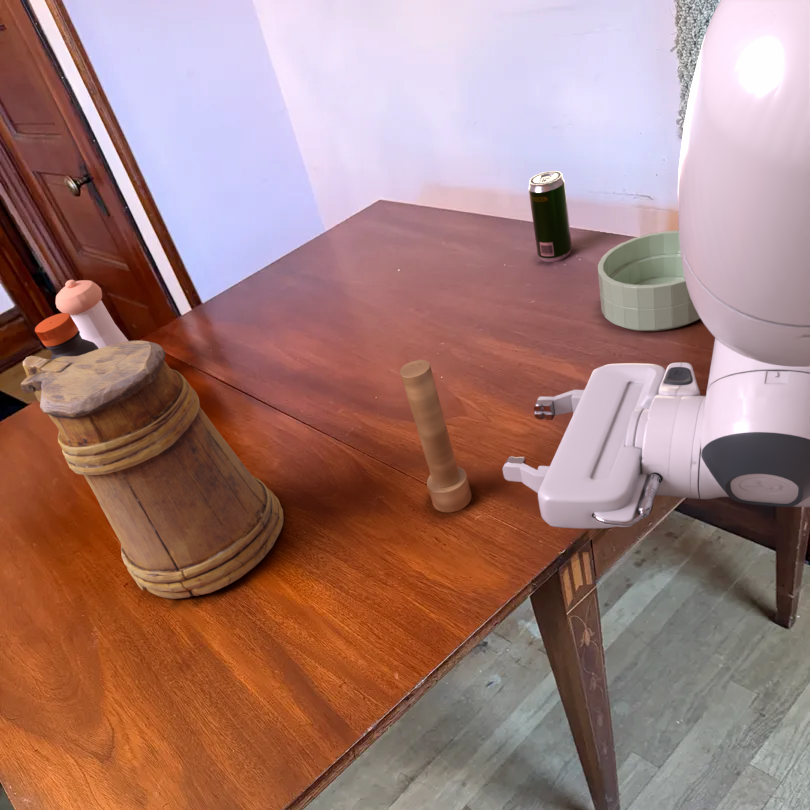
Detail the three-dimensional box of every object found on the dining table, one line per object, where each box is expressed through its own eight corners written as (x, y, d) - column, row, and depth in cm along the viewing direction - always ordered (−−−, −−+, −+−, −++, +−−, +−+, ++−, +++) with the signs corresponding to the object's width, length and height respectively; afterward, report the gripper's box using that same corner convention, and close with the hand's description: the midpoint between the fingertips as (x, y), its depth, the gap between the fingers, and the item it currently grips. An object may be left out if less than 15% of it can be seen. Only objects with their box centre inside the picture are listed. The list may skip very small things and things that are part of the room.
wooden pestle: (479, 497, 82) (446, 364, 71) (448, 518, 81) (409, 386, 70) (455, 480, 85) (420, 350, 74) (425, 501, 84) (384, 372, 73)
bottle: (136, 423, 115) (64, 305, 102) (157, 435, 111) (84, 313, 97) (99, 448, 112) (19, 330, 99) (119, 462, 108) (38, 340, 95)
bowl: (748, 290, 98) (751, 242, 93) (665, 346, 93) (664, 298, 89) (656, 266, 108) (654, 222, 104) (578, 315, 104) (573, 271, 100)
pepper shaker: (103, 400, 124) (36, 293, 111) (131, 375, 128) (70, 269, 115) (133, 402, 120) (67, 293, 108) (161, 377, 124) (101, 268, 112)
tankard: (230, 615, 79) (108, 424, 62) (79, 583, 90) (-60, 413, 73) (312, 500, 89) (225, 311, 73) (168, 484, 100) (64, 316, 84)
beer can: (567, 261, 117) (558, 183, 109) (534, 264, 119) (523, 187, 111) (575, 245, 120) (567, 168, 112) (543, 248, 122) (532, 172, 114)
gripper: (647, 554, 61) (490, 535, 68) (691, 407, 73) (555, 402, 80) (644, 498, 57) (478, 482, 64) (692, 351, 69) (548, 350, 76)
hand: (521, 436), depth 72 cm, fingers open, 8 cm apart
